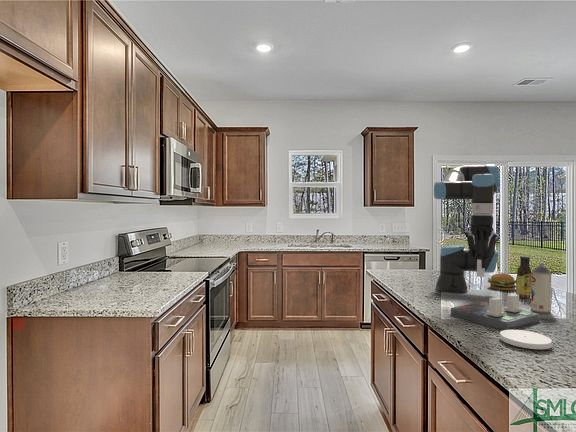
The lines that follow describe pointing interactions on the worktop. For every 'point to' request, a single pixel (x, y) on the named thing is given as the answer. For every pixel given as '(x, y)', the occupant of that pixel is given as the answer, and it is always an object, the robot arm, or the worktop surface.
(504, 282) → the food
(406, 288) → the worktop surface
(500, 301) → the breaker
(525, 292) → the sauce bottle
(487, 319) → the breaker box
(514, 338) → the plastic lid
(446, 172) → the robot arm
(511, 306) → the lever
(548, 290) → the aerosol can
